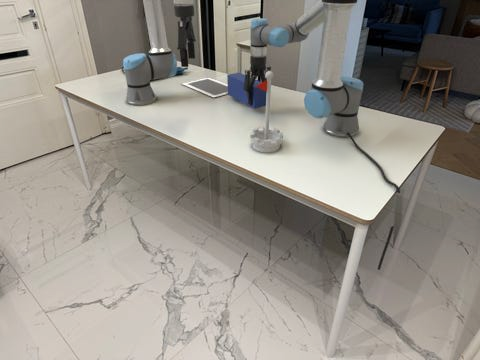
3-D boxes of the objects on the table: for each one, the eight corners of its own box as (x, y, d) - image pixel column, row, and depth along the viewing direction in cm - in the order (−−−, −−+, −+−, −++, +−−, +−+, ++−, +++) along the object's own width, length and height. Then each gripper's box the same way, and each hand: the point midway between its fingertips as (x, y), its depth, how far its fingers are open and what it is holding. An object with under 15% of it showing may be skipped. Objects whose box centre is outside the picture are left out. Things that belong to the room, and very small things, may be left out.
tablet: (181, 84, 205) (181, 83, 205) (208, 77, 216) (208, 77, 216) (213, 98, 185) (213, 97, 185) (241, 90, 196) (241, 89, 196)
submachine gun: (173, 61, 239) (192, 66, 223) (173, 67, 241) (193, 72, 225) (127, 70, 221) (144, 76, 204) (128, 76, 223) (146, 83, 206)
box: (266, 106, 169) (267, 84, 163) (254, 109, 166) (254, 87, 160) (239, 92, 187) (239, 72, 181) (227, 94, 184) (227, 74, 178)
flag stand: (273, 136, 144) (277, 64, 128) (288, 150, 134) (294, 73, 118) (245, 141, 141) (245, 68, 124) (257, 156, 130) (260, 77, 114)
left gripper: (181, 1, 139) (186, 55, 151) (165, 8, 118) (172, 70, 130) (199, 1, 138) (202, 55, 150) (186, 8, 118) (191, 70, 129)
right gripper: (271, 51, 164) (268, 97, 176) (235, 56, 154) (235, 104, 167) (280, 54, 158) (277, 101, 171) (244, 60, 149) (244, 109, 162)
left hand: (188, 62), depth 140 cm, fingers open, 13 cm apart
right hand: (257, 103), depth 169 cm, fingers closed on box, 7 cm apart
